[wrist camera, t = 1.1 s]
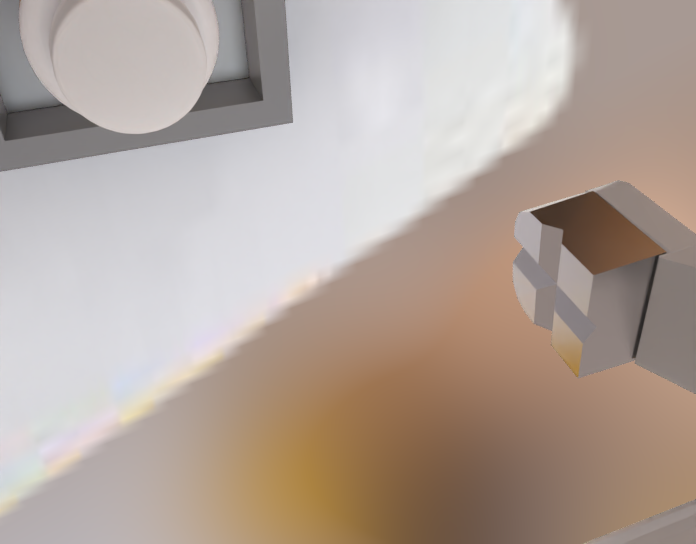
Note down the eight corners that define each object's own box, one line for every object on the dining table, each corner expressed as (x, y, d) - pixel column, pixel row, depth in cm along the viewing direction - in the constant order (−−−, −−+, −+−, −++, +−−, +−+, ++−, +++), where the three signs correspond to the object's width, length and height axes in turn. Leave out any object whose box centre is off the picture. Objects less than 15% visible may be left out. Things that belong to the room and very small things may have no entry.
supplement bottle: (209, -43, 26) (278, 46, 19) (129, 70, 28) (163, 195, 20) (76, -155, 23) (95, -101, 15) (-7, -19, 24) (-28, 91, 17)
